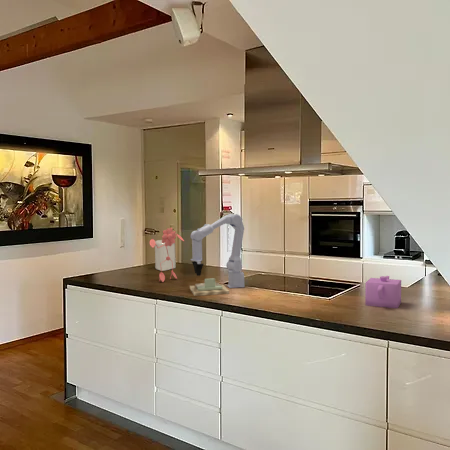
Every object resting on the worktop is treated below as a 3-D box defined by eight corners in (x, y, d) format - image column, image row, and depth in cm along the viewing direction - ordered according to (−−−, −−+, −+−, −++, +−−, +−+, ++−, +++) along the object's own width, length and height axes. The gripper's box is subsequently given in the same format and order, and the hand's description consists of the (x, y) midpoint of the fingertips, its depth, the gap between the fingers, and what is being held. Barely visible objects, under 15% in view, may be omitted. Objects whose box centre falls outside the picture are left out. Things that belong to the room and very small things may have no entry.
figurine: (148, 283, 300) (146, 228, 297) (178, 277, 319) (177, 226, 316) (163, 286, 290) (161, 229, 287) (193, 279, 308) (192, 226, 305)
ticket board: (222, 286, 285) (222, 281, 285) (229, 293, 266) (229, 288, 266) (189, 288, 281) (189, 283, 281) (194, 295, 262) (194, 290, 262)
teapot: (403, 299, 245) (403, 273, 244) (395, 311, 223) (396, 281, 222) (373, 296, 252) (373, 271, 251) (363, 307, 230) (363, 279, 229)
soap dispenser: (163, 271, 342) (162, 241, 341) (148, 269, 350) (148, 240, 348) (176, 268, 355) (175, 239, 353) (162, 266, 363) (161, 238, 361)
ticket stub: (220, 287, 275) (220, 276, 274) (222, 289, 270) (222, 278, 269) (197, 288, 272) (196, 278, 271) (198, 290, 267) (198, 279, 266)
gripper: (189, 250, 280) (189, 272, 281) (191, 253, 265) (192, 277, 267) (200, 249, 281) (201, 271, 282) (204, 252, 267) (204, 276, 268)
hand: (197, 274), depth 274 cm, fingers open, 7 cm apart
